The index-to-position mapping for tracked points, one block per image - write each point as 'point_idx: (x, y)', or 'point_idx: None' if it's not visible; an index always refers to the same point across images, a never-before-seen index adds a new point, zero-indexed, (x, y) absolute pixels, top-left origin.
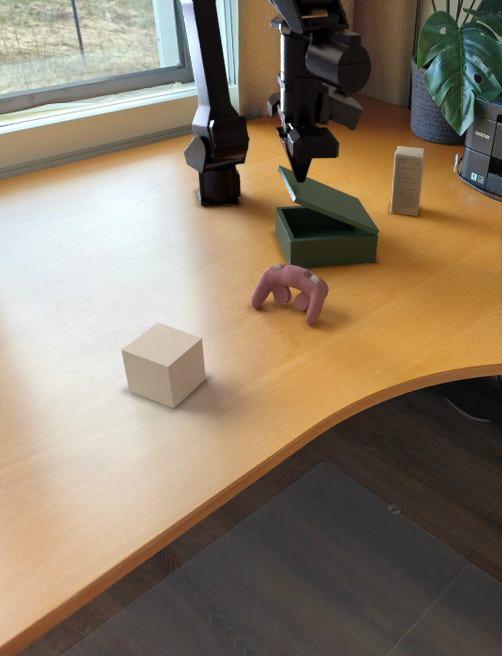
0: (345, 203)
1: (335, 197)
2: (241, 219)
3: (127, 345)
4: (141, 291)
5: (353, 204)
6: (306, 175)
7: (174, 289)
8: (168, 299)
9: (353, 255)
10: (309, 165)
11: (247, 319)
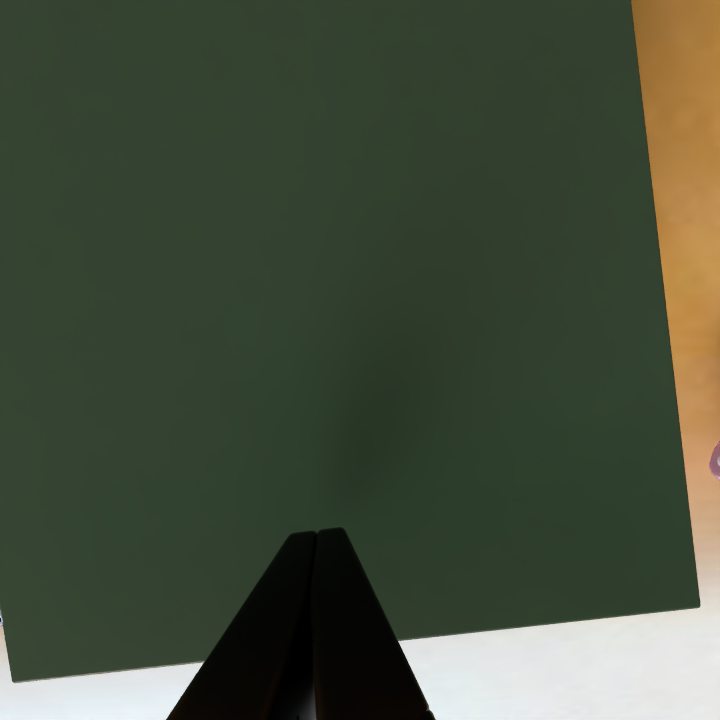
0: (224, 28)
1: (181, 134)
2: None
3: None
4: (570, 698)
5: None
6: (367, 577)
7: (576, 643)
8: (626, 651)
9: None
10: (417, 690)
11: None
